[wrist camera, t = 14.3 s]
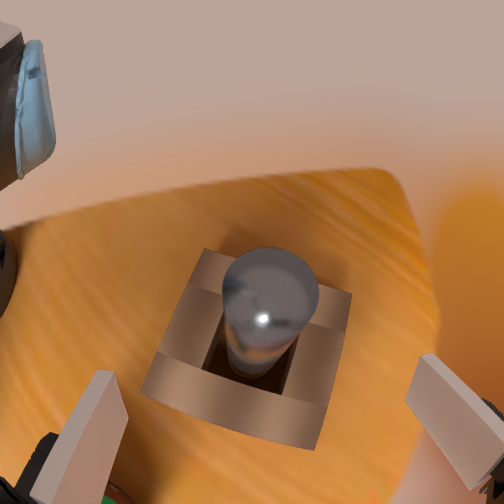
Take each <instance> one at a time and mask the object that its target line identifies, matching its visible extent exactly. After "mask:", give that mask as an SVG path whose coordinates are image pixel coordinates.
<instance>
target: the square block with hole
mask: <svg viewBox="0 0 504 504" xmlns="http://www.w3.org/2000/svg"><path fill="white" fill-rule="evenodd" d="M236 259H237V258H234V257H231V256H228V255H224V254H221V253H218V252H215V251H212V250H209V249H205V248H204V250H203V252H202V254H201V256H200V259H199V261H198V263H197V265H196V267H195V269H194V271H193V273H192V275H191V277H190V279H189V282H188V284H187V286H186V288H185V290H184V292H183V294H182V296H181V299H180V301H179V303H178V305H177V307H176V310H175V312H174V314H173V316H172V318H171V321H170V323H169V325H168V327H167V329H166V332H165V334H164V336H163V339H162V341H161V343H160V345H159V348H158V350H157V352H156V355H155V357H154V359H153V362H152V364H151V366H150V369H149V371H148V373H147V376H146V378H145V381H144V383H143V385H142V388H141V390H140V393H141V394H143V395H145V396H147V397H149V398H151V399H153V400H155V401H158V402H160V403H162V404H164V405H167V406H169V407H171V408H174V409H176V410H178V411H181V412H183V413H186V414H188V415H191V416H193V417H196V418H198V419H201V420H204V421H207V422H209V423H212V424H215V425H218V426H221V427H224V428H227V429H230V430H233V431H236V432H239V433H243V434H246V435H249V436H253V437H257V438H260V439H264V440H268V441H272V442H276V443H280V444H284V445H288V446H293V447H298V448H303V449H308V450H313V451H314V450H315V447H316V444H317V440H318V437H319V434H320V431H321V428H322V424H323V421H324V418H325V414H326V411H327V407H328V403H329V400H330V396H331V392H332V388H333V384H334V381H335V376H336V372H337V368H338V364H339V359H340V355H341V350H342V346H343V341H344V336H345V331H346V326H347V320H348V315H349V309H350V304H351V298H352V294H351V293H348V292H344V291H341V290H338V289H334V288H331V287H328V286H324V285H321V284H318V286H319V302H318V306H317V309H316V311H315V313H314V315H313V316H312V318H311V319H310V321H309V322H308V323H307V325H306V326H305V327H304V328H303V330H302V331H301V332H300V334H299V335H298V336H297V337H296V339H295V340H294V341H293V342H292V344H291V345H290V348H289V352H288V355H287V358H286V362H285V365H284V368H283V372H282V375H281V378H280V381H279V384H278V388H277V391H276V394H275V393H271V392H268V391H264V390H261V389H258V388H254V387H251V386H248V385H245V384H242V383H239V382H235V381H232V380H230V379H227V378H224V377H221V376H218V375H215V374H212V373H210V372H208V369H209V367H210V364H211V361H212V359H213V356H214V354H215V351H216V348H217V346H218V343H219V341H220V338H221V335H222V333H223V330H224V328H225V321H224V310H223V297H222V284H223V279H224V276H225V273H226V271H227V269H228V268H229V266H230V265H231V264H232V263H233V262H234V261H235V260H236Z"/></svg>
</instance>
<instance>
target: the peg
mask: <svg viewBox="0 0 504 504" xmlns="http://www.w3.org/2000/svg"><path fill="white" fill-rule="evenodd" d="M222 297H223V310H224V321H225V333H226V344H227V355H228V362H229V365H230V367H231V368H232V370H233V371H234V372H235V373H236V374H238V375H239V376H241V377H244V378H249V379H254V378H259V377H261V376H263V375H265V374H266V373H267V372H268V371H269V370H270V369H271V368H272V367H273V366H274V364H275V363H276V362H277V361H278V360H279V358H280V357H281V356H282V355H283V354H284V352H285V351H286V350H287V349H288V347H289V346H290V345H291V344H292V342H293V341H294V340H295V339H296V337H297V336H298V335H299V334H300V332H301V331H302V330H303V328H304V327H305V326H306V325H307V323H308V322H309V321H310V319H311V318H312V316H313V315H314V313H315V311H316V309H317V306H318V302H319V286H318V282H317V279H316V277H315V275H314V273H313V271H312V270H311V268H310V267H309V266H308V265H307V263H306V262H305V261H303V260H302V259H301V258H300V257H298V256H297V255H295V254H293V253H291V252H289V251H286V250H283V249H279V248H271V247H265V248H258V249H254V250H251V251H248V252H246V253H244V254H242V255H241V256H239V257H238V258H237V259H236V260H235V261H234V262H233V263H232V264H231V265H230V266H229V268H228V269H227V271H226V273H225V276H224V279H223V284H222Z"/></svg>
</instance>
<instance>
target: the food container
mask: <svg viewBox="0 0 504 504" xmlns="http://www.w3.org/2000/svg"><path fill="white" fill-rule="evenodd" d="M101 504H135V503H134V502H133V501H132V500H131V499H130V498H129V497H128V495H127V494H126V493H124V492H123V491H122V490H121V489H120V488H118V487H117V486H116V485H114V484H113V483H111V482H109V481H108V482H107V485H106V488H105V491H104V495H103V498H102V501H101Z"/></svg>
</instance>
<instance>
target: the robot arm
mask: <svg viewBox="0 0 504 504" xmlns="http://www.w3.org/2000/svg"><path fill="white" fill-rule="evenodd" d="M55 144H56V134H55V127H54V120H53V113H52V107H51V101H50V94H49V87H48V80H47V73H46V65H45V59H44V54H43V46H42V42H41V41H40V40H30V41H28V42H27V43H26V44H25V43H24V41H23V37H22V33H21V29H20V27H18V26H14V25H11V24H7V23H3V22H2V21H1V19H0V191H1V190H3V189H4V188H5V187H7V186H8V185H10V184H11V183H13V182H14V181H16V180H17V179H19V180H21V179H23V178H24V175H25V174H27V173H28V172H30V171H31V170H32V169H34V168H35V167H37V166H38V165H40V164H42V163H43V162H45V161H46V160H47V159H48V158H49V157H50V156H51V154H52V153H53V151H54V148H55ZM16 271H17V256H16V251H15V248H14V245H13V244H12V242H11V241H10V240H9V239H8V237H7V236H6V235H5V234H4V233H3V232H2V231H1V230H0V316H1V315H2V313H3V311H4V309H5V307H6V305H7V303H8V301H9V298H10V296H11V293H12V290H13V286H14V282H15V278H16ZM404 401H405V402H406V403H407V405H408V406H409V407H410V409H411V410H412V411H413V413H414V414H415V415H416V417H417V418H418V419H419V421H420V422H421V423H422V425H423V426H424V427H425V429H426V430H427V432H428V433H429V434H430V436H431V437H432V438H433V440H434V441H435V442H436V444H437V445H438V447H439V448H440V449H441V451H442V452H443V454H444V455H445V456H446V458H447V459H448V461H449V462H450V463H451V465H452V466H453V468H454V469H455V471H456V472H457V474H458V475H459V476H460V478H461V479H462V481H463V482H464V484H465V485H466V487H467V488H468V490H469V491H470V490H472V489H473V488H475V487H476V486H478V485H479V484H481V483H482V482H483V481H484V480H485V479H486V478H487V477H488V476H489V474H490V475H491V476H492V477H491V478H490V479H489V480H488V481H487V483H486V484H485V485H484V486H483V487H482V488H481V489H480V492H479V493H480V494H481V493H482V492H483V491H484V490H485V489H486V488H487V487H488V489H487V490H486V491H485V492H484V494H487V501H486V504H504V416H503V414H502V413H501V412H500V411H498V409H497V408H496V407H495V406H494V405H493V404H492V403H491V402H489V401H487V400H485V399H483V398H481V399H480V398H479V397H478V396H477V395H476V394H475V393H474V392H473V391H472V390H471V389H470V388H469V387H468V386H467V385H466V384H465V383H464V382H462V380H461V379H460V378H458V377H457V376H456V375H455V374H454V373H453V372H452V371H451V370H450V369H449V368H448V367H447V366H446V365H445V364H444V363H443V362H442V361H440V360H439V359H438V358H437V357H436V356H435V355H434V354H433V353H430V354H426V355H421V356H420V358H419V362H418V365H417V367H416V370H415V373H414V376H413V379H412V382H411V384H410V387H409V390H408V392H407V395H406V397H405V400H404ZM128 420H129V417H128V414H127V411H126V408H125V405H124V402H123V399H122V396H121V393H120V390H119V387H118V383H117V380H116V377H115V373H114V372H112V371H104V370H97V372H96V373H95V375H94V377H93V378H92V380H91V382H90V383H89V385H88V386H87V388H86V390H85V391H84V393H83V395H82V396H81V398H80V400H79V402H78V403H77V405H76V407H75V408H74V410H73V412H72V414H71V415H70V417H69V419H68V421H67V422H66V424H65V426H64V428H63V429H62V431H61V433H60V435H58V434H55V433H52V432H50V433H48V434H47V435H46V436H45V437H43V438H42V439H41V440H40V442H39V443H38V445H37V447H36V449H35V452H33V454H32V456H31V459H29V461H28V463H27V465H26V467H25V468H24V470H23V472H22V474H21V476H20V478H19V480H18V482H17V484H16V486H15V487H14V488H13V487H12V486H11V485H10V484H9V483H8V482H7V481H6V480H5V479H4V478H3V477H1V476H0V504H101V501H102V498H103V495H104V491H105V488H106V485H107V482H108V478H109V475H110V472H111V469H112V466H113V463H114V460H115V457H116V454H117V451H118V448H119V445H120V442H121V439H122V436H123V434H124V431H125V428H126V425H127V422H128Z"/></svg>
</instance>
